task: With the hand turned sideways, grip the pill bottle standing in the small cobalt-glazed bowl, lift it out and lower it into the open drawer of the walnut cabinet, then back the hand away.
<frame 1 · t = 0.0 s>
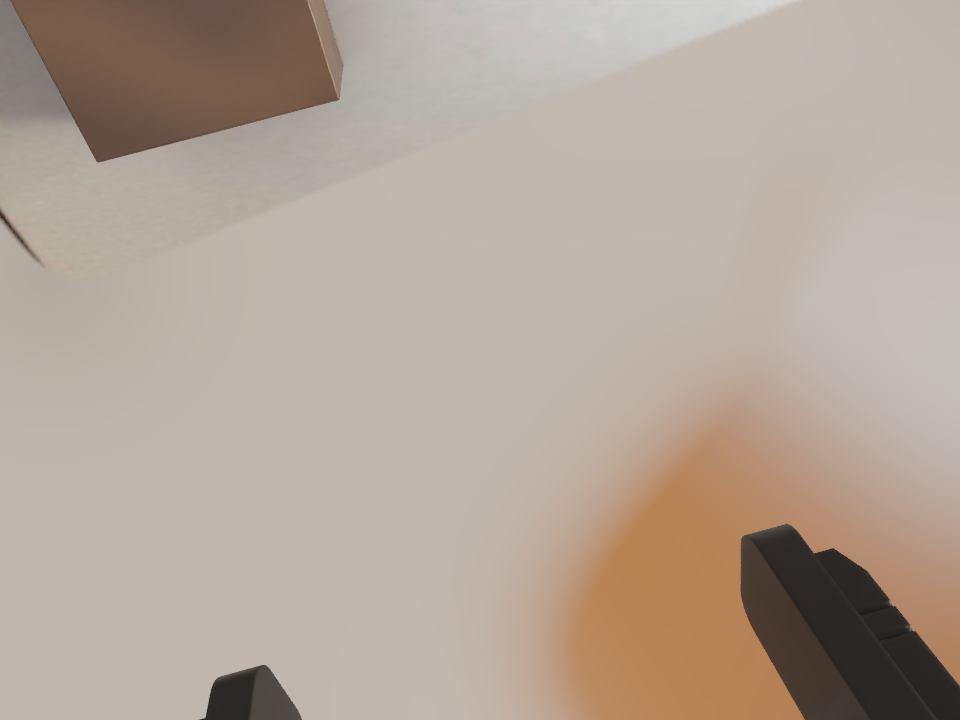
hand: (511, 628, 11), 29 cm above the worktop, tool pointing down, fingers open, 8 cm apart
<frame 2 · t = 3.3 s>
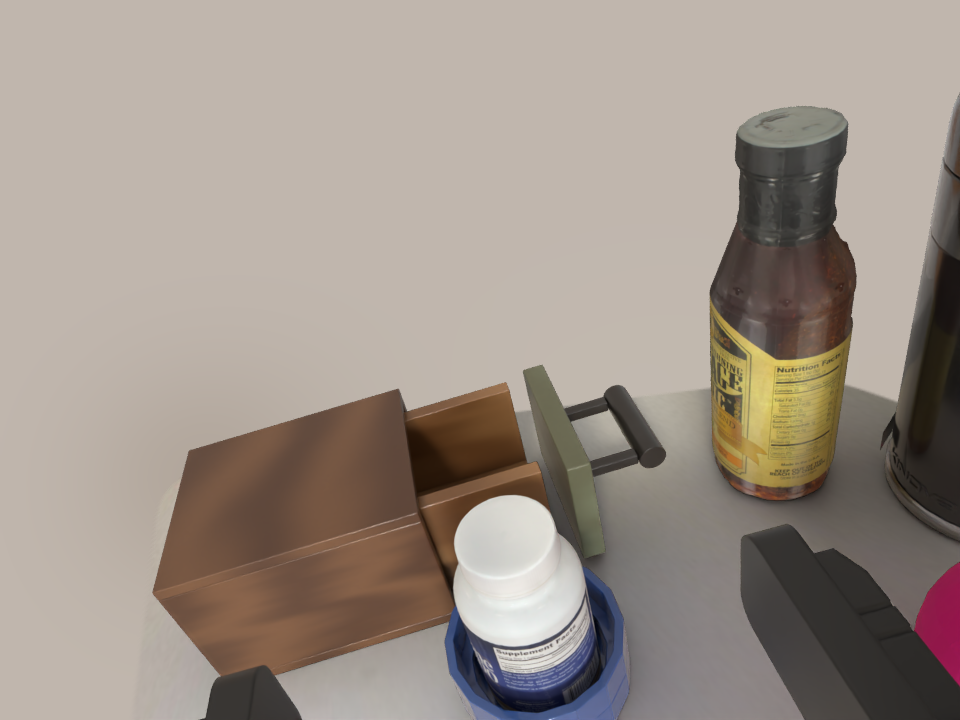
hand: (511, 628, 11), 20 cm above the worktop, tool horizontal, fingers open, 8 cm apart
sauce bottle: (770, 471, 38), on the worktop
cabinet: (344, 577, 38), on the worktop
pill bottle: (544, 671, 31), resting on bowl
bowl: (545, 672, 31), on the worktop
drawer: (510, 472, 36), point 4 cm above the worktop, slide at 7.0 cm
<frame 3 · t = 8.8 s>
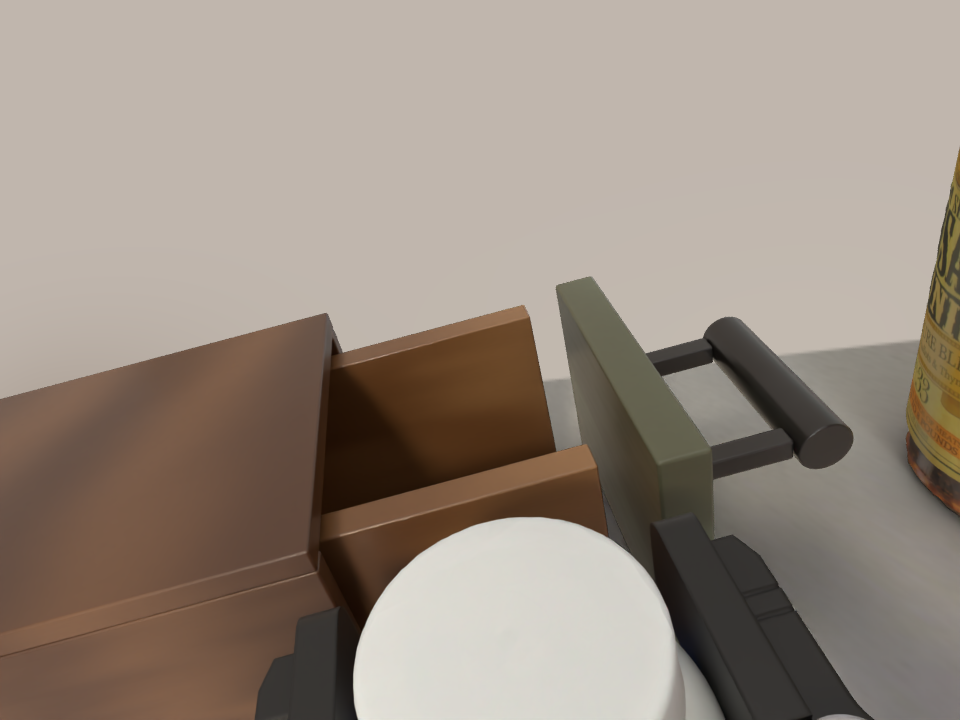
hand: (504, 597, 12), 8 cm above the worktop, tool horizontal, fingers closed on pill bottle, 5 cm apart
cabinet: (219, 655, 21), on the worktop
drawer: (528, 472, 19), point 4 cm above the worktop, slide at 7.0 cm
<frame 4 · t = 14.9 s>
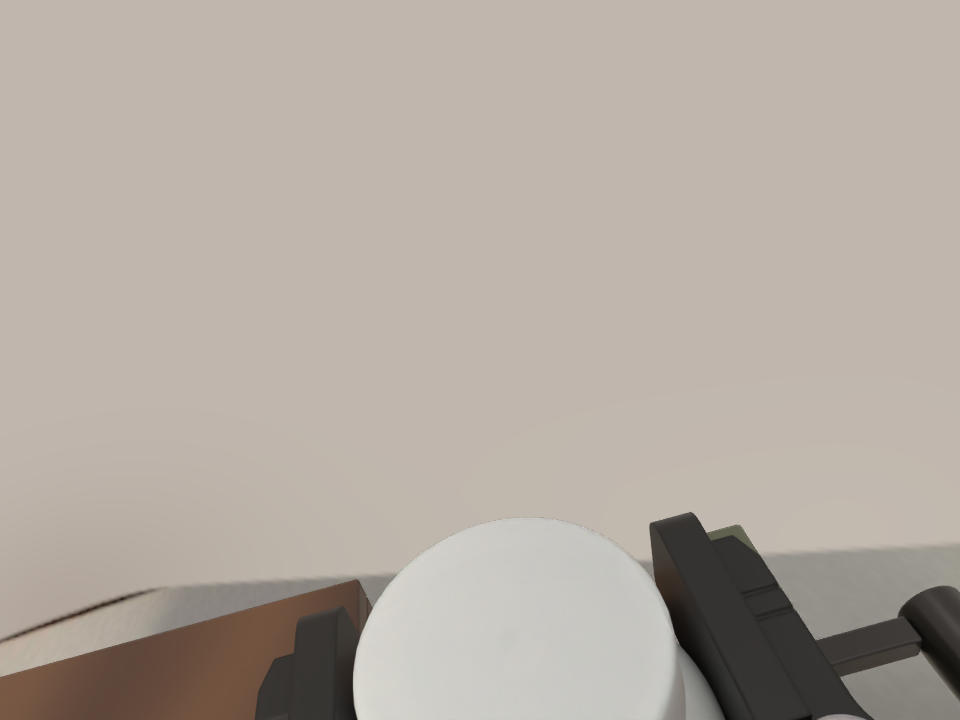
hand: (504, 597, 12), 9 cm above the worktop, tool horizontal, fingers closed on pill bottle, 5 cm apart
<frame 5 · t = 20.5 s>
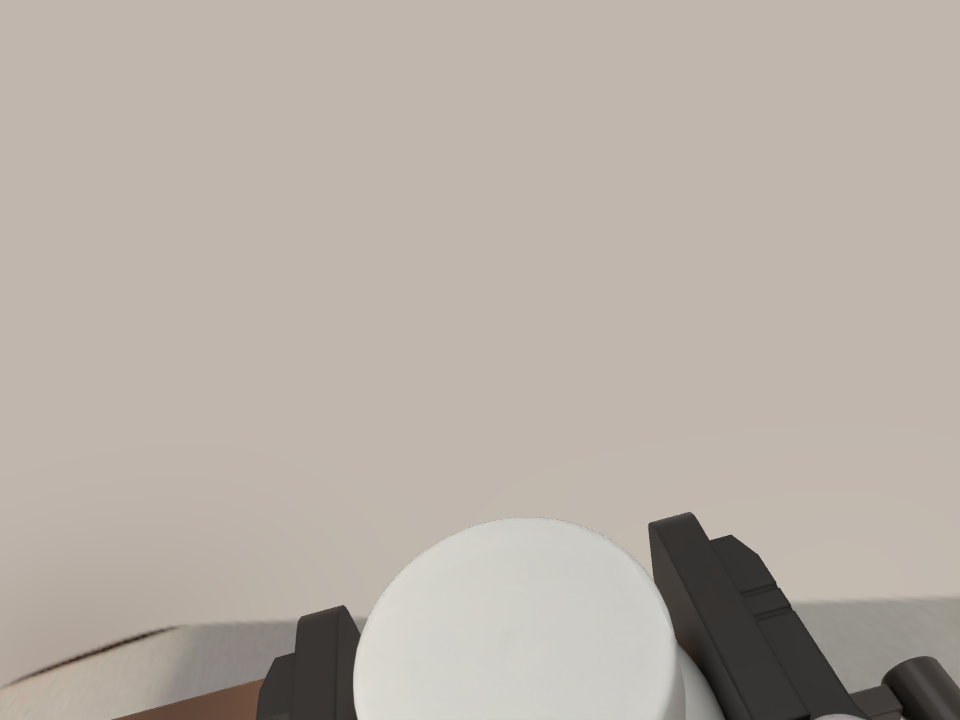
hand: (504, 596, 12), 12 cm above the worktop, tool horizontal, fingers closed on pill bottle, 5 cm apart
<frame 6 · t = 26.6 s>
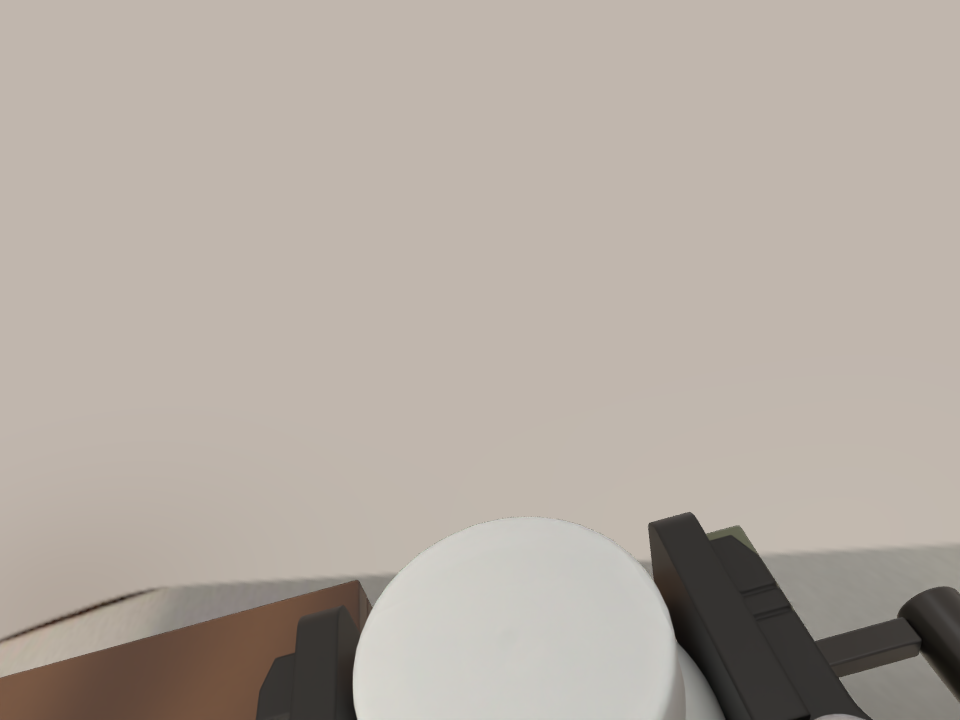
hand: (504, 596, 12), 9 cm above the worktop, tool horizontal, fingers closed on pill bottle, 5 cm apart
when the fingers open (13 cm above the worktop, at t = 32.5 s): pill bottle drops 3 cm, resting on drawer.
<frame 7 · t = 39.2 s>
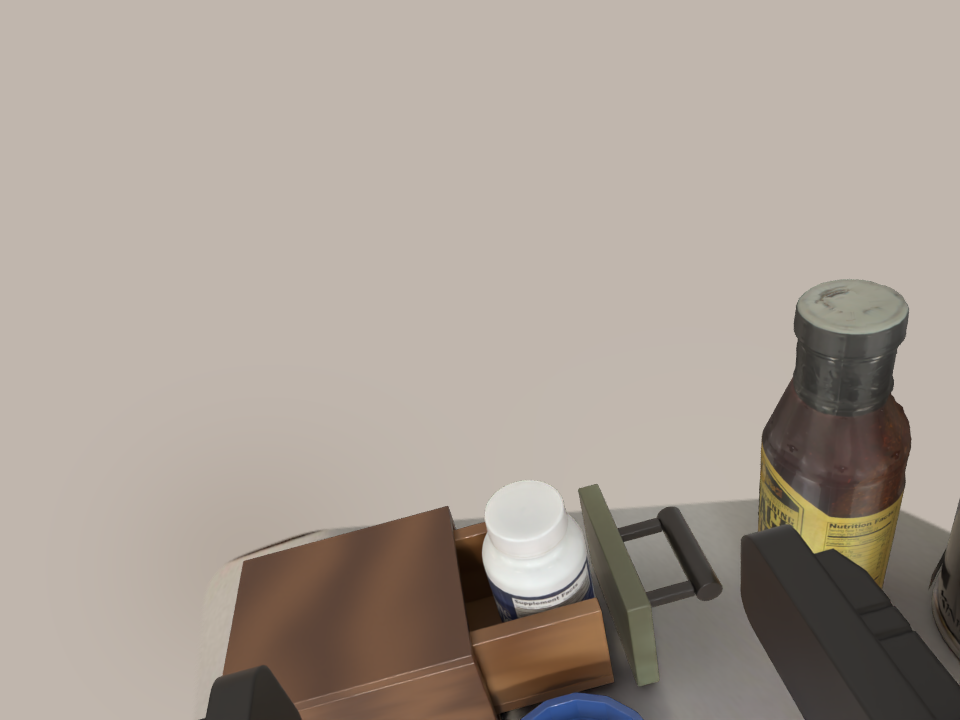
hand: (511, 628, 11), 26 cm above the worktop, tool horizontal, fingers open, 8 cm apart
sauce bottle: (815, 599, 38), on the worktop
cabinet: (389, 688, 39), on the worktop
pill bottle: (553, 628, 38), point 2 cm above the worktop, touching drawer
drawer: (565, 594, 37), point 4 cm above the worktop, slide at 7.5 cm, touching pill bottle
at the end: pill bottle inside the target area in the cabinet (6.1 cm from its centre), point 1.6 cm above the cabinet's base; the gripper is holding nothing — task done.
